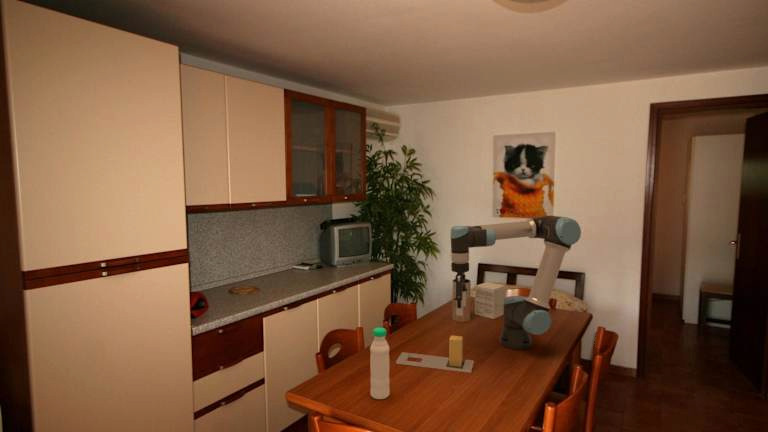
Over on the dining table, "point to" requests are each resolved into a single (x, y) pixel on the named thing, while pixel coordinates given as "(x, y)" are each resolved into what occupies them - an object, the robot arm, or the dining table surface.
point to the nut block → (456, 351)
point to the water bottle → (379, 365)
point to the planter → (465, 308)
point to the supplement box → (490, 300)
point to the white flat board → (434, 362)
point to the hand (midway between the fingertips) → (461, 310)
